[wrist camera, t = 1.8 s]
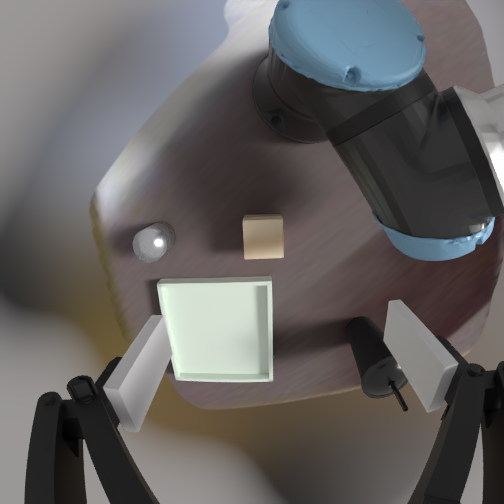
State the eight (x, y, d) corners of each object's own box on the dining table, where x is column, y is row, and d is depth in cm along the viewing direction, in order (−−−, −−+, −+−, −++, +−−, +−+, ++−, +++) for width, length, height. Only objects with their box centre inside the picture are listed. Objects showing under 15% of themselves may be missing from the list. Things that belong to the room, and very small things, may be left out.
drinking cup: (373, 300, 44) (430, 374, 25) (385, 334, 46) (435, 409, 26) (332, 322, 45) (369, 408, 26) (347, 354, 47) (382, 438, 27)
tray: (161, 278, 44) (156, 283, 41) (271, 275, 43) (271, 281, 41) (178, 372, 48) (176, 380, 46) (272, 373, 48) (272, 381, 46)
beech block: (244, 214, 41) (242, 220, 36) (279, 213, 41) (282, 219, 36) (246, 249, 42) (244, 259, 37) (280, 247, 42) (283, 257, 37)
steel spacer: (146, 222, 41) (130, 230, 35) (174, 220, 41) (161, 228, 35) (150, 250, 42) (135, 262, 37) (177, 249, 42) (165, 261, 37)
